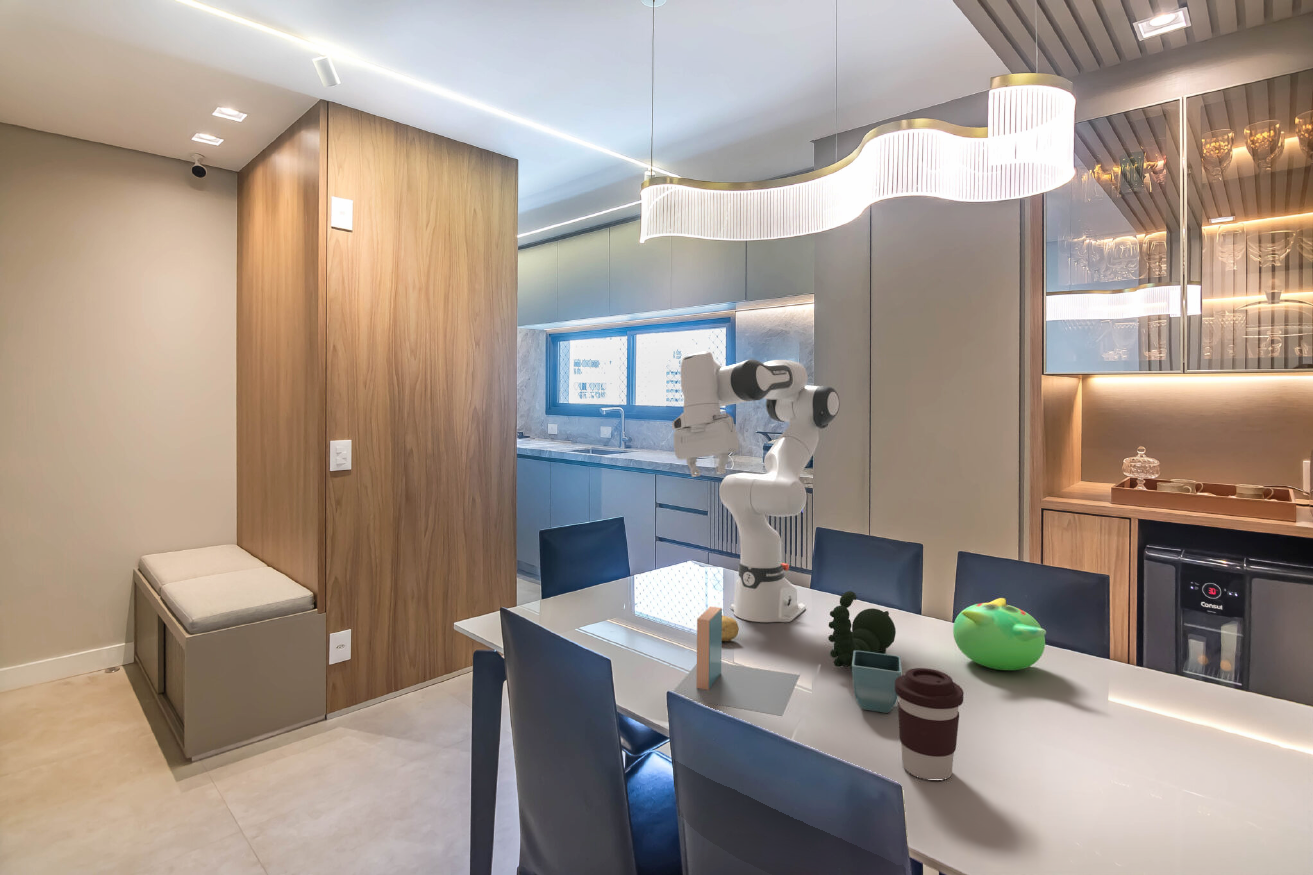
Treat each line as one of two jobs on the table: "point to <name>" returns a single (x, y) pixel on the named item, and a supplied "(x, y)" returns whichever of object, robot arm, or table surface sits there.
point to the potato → (729, 628)
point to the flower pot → (875, 680)
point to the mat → (743, 688)
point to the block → (709, 647)
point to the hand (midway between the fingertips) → (708, 475)
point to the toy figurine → (859, 631)
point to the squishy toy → (999, 636)
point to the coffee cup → (928, 721)
